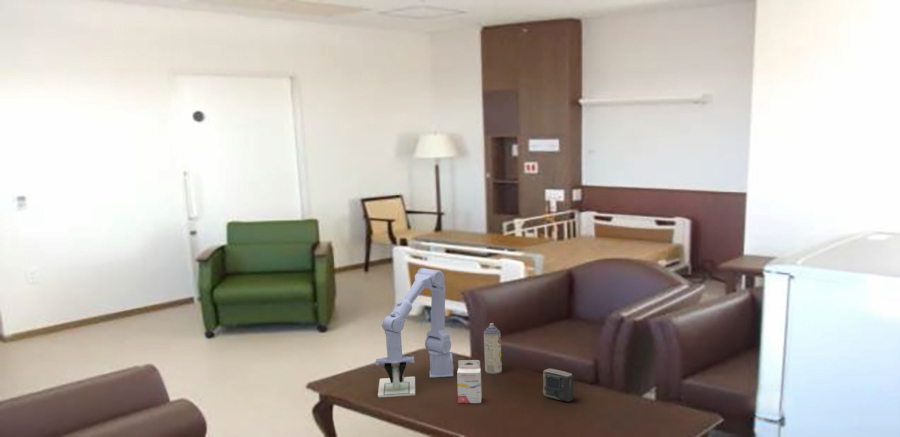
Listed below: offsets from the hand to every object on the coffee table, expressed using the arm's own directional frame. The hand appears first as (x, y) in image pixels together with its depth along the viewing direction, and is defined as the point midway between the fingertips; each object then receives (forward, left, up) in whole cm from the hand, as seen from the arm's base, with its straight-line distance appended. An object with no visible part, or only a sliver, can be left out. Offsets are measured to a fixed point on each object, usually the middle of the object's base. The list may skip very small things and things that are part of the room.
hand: (396, 381), depth 273 cm
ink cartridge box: (-27, +14, -4) cm, 31 cm away
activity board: (0, -4, -4) cm, 6 cm away
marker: (0, 0, -2) cm, 2 cm away
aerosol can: (-39, -15, -4) cm, 42 cm away
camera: (-59, +17, -4) cm, 62 cm away
